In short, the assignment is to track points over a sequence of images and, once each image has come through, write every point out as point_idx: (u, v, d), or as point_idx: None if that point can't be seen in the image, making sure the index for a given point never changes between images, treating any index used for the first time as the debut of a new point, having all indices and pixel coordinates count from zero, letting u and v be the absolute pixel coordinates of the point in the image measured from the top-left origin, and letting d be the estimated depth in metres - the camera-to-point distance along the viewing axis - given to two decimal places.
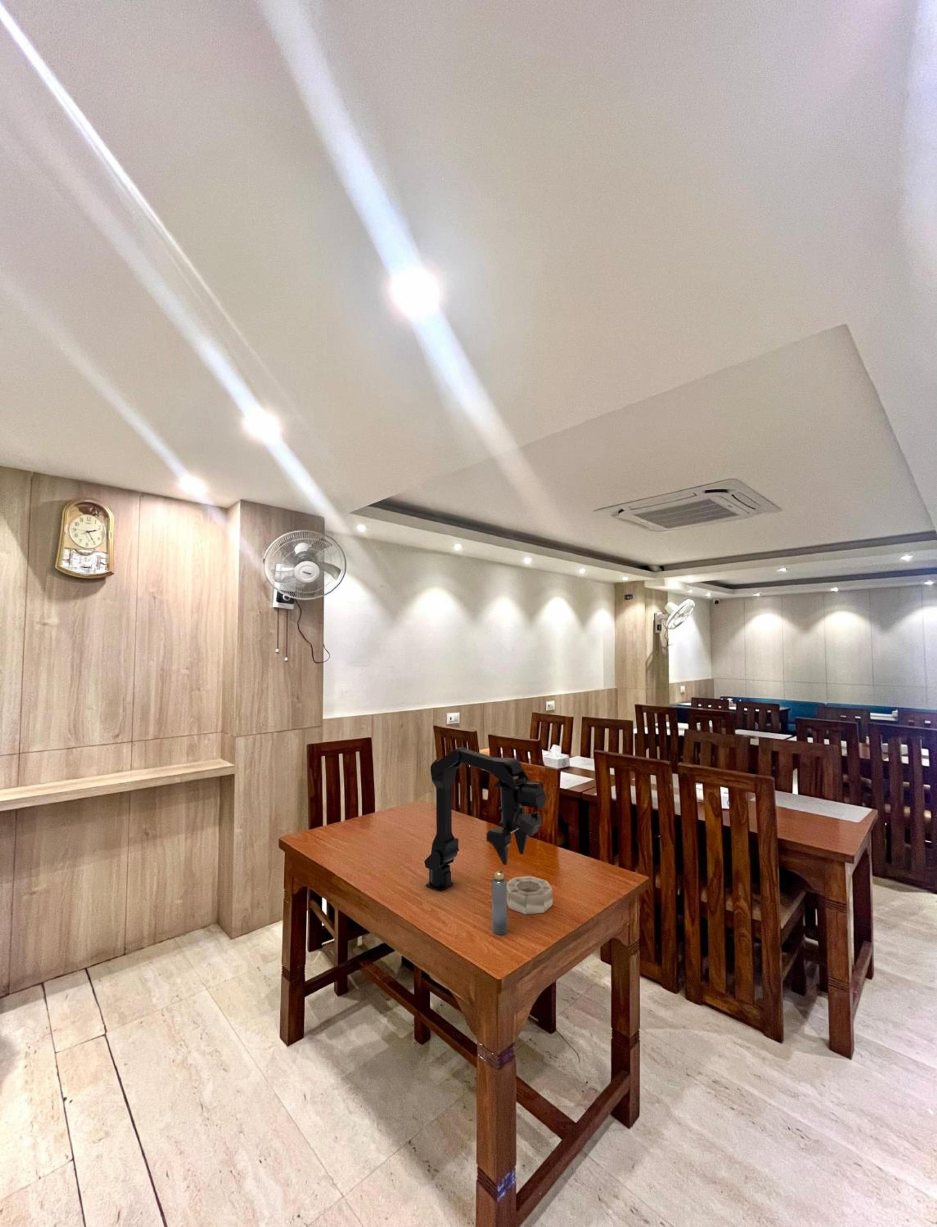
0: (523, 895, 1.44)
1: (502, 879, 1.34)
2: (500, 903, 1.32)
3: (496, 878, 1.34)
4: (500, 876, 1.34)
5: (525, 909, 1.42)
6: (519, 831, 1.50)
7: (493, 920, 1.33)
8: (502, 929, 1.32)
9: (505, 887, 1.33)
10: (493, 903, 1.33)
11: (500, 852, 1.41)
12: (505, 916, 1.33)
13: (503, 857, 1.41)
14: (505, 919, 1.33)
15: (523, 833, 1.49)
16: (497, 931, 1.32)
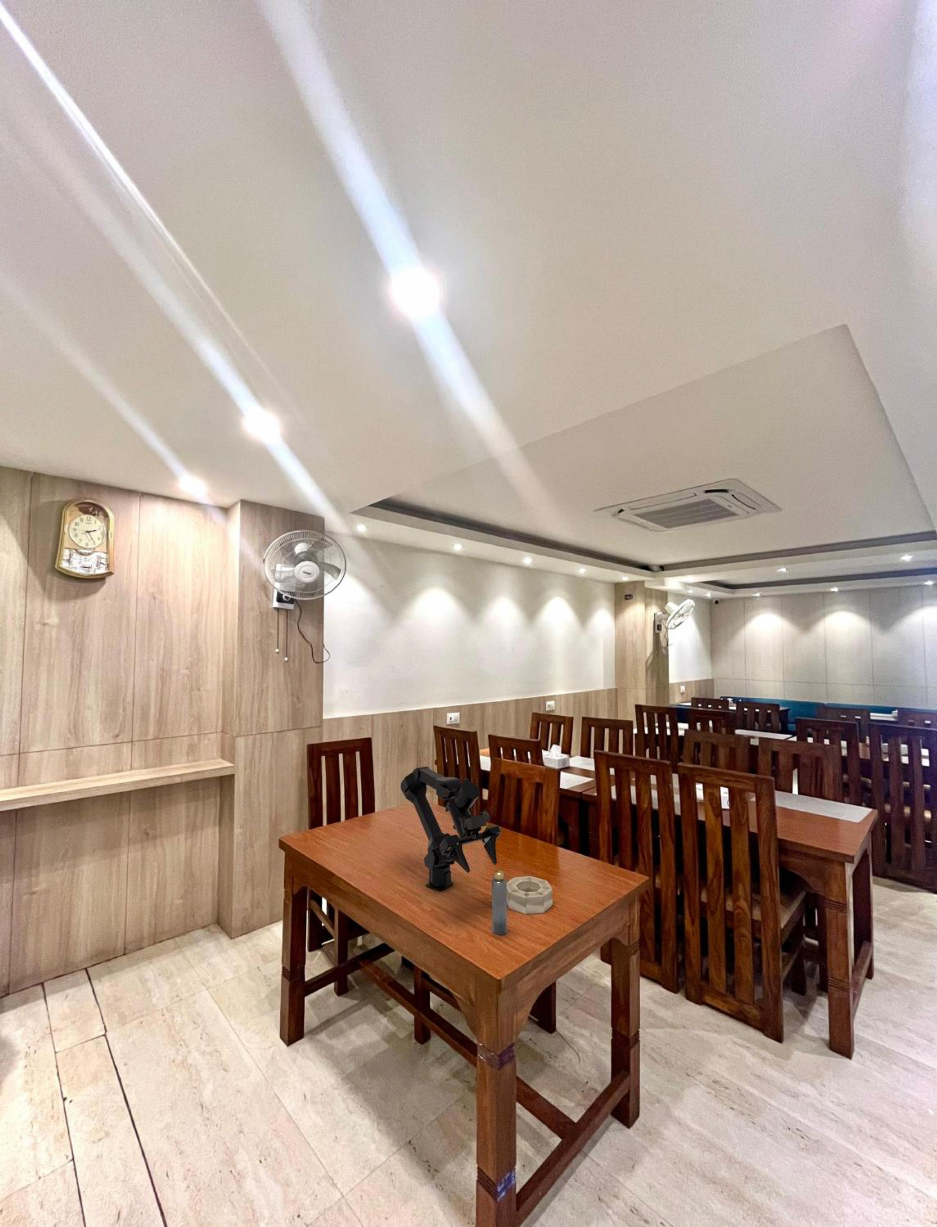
0: (523, 895, 1.44)
1: (502, 879, 1.34)
2: (500, 903, 1.32)
3: (496, 878, 1.34)
4: (500, 876, 1.34)
5: (525, 909, 1.42)
6: (487, 844, 1.49)
7: (493, 920, 1.33)
8: (502, 929, 1.32)
9: (505, 887, 1.33)
10: (493, 903, 1.33)
11: (459, 861, 1.41)
12: (505, 916, 1.33)
13: (463, 864, 1.40)
14: (505, 919, 1.33)
15: (489, 842, 1.48)
16: (497, 931, 1.32)
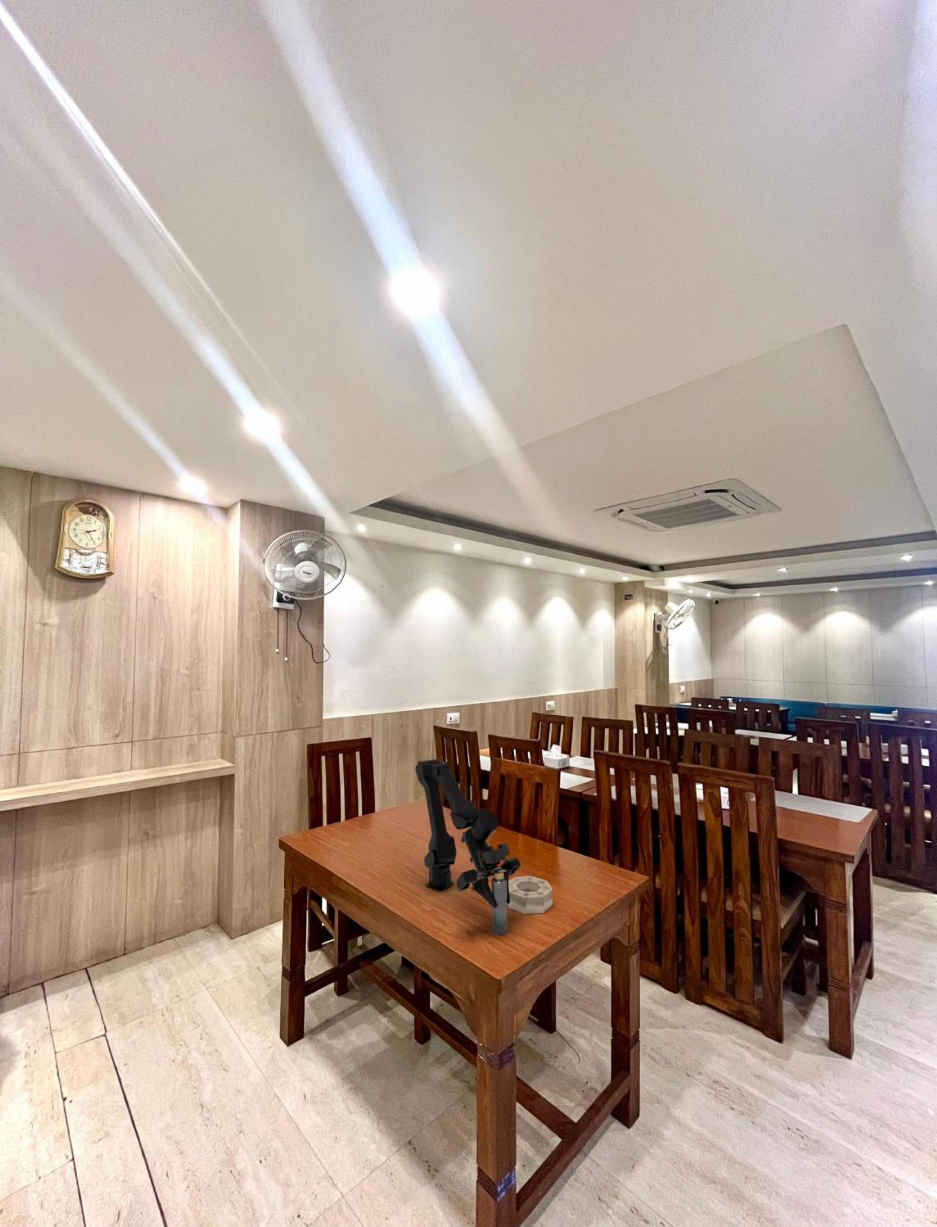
0: (523, 895, 1.44)
1: (502, 879, 1.34)
2: (500, 903, 1.32)
3: (496, 878, 1.34)
4: (500, 876, 1.34)
5: (525, 909, 1.42)
6: None
7: (493, 920, 1.33)
8: (502, 929, 1.32)
9: (505, 887, 1.33)
10: None
11: (485, 895, 1.34)
12: (505, 916, 1.33)
13: (490, 899, 1.33)
14: (505, 919, 1.33)
15: None
16: (497, 931, 1.32)
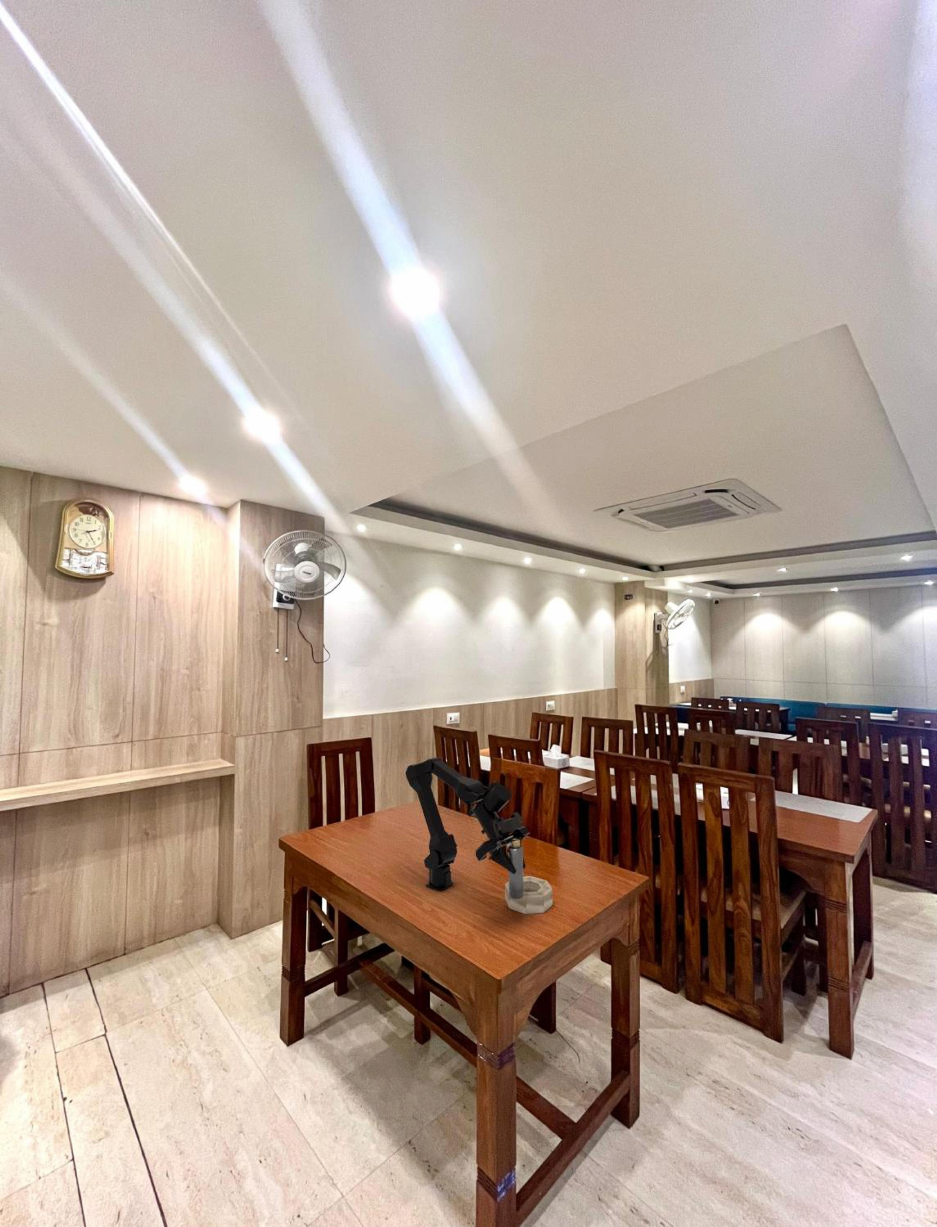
0: (523, 895, 1.44)
1: (519, 846, 1.40)
2: (518, 868, 1.39)
3: (514, 845, 1.40)
4: (517, 843, 1.40)
5: (525, 909, 1.42)
6: None
7: (511, 885, 1.39)
8: (520, 893, 1.38)
9: (522, 853, 1.40)
10: None
11: (504, 863, 1.39)
12: (522, 880, 1.39)
13: (508, 865, 1.38)
14: (522, 883, 1.39)
15: None
16: (516, 895, 1.38)
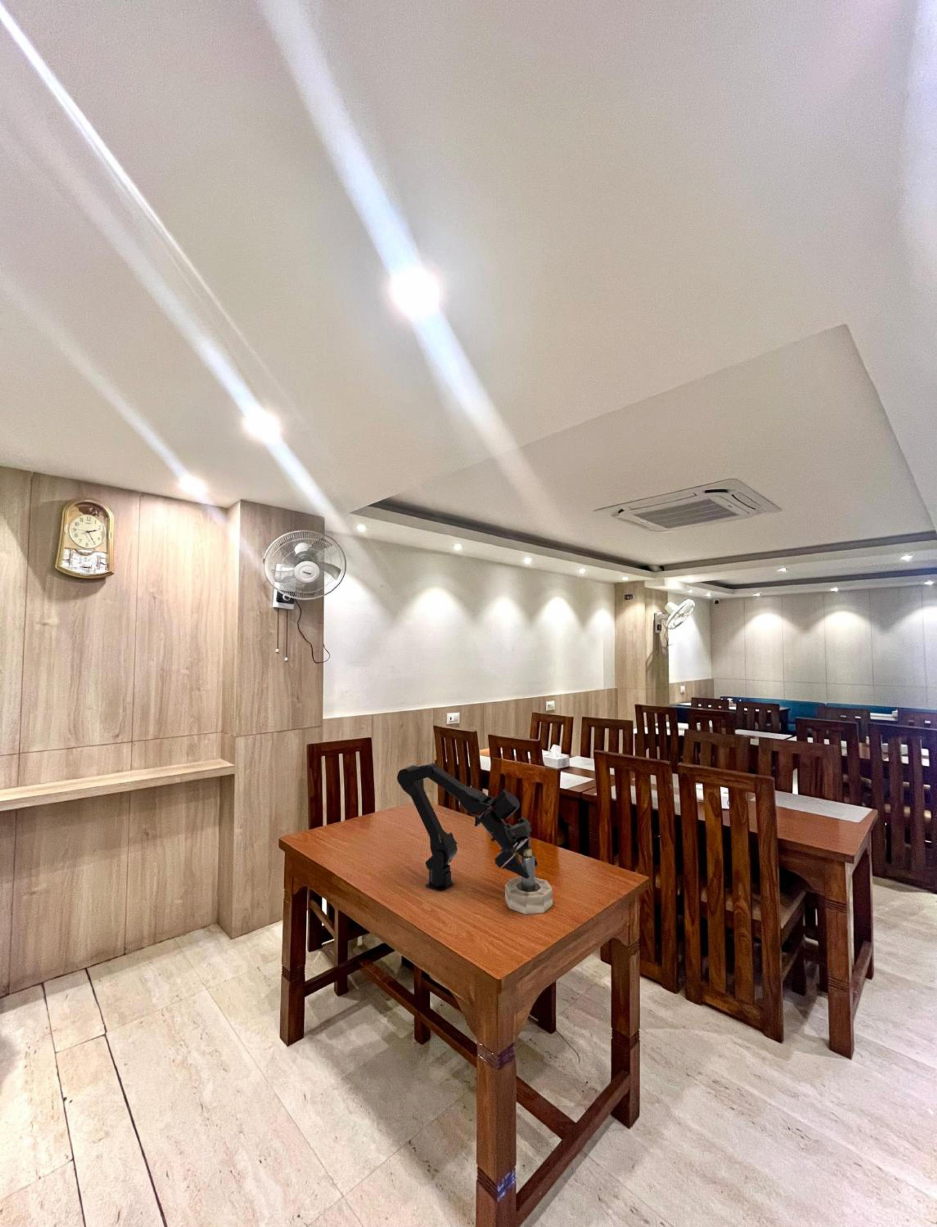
0: (523, 895, 1.44)
1: (531, 855, 1.50)
2: (532, 876, 1.48)
3: (527, 855, 1.49)
4: (531, 852, 1.49)
5: (525, 909, 1.42)
6: (521, 848, 1.56)
7: None
8: None
9: None
10: None
11: (517, 870, 1.45)
12: None
13: (522, 871, 1.45)
14: None
15: (525, 847, 1.55)
16: None
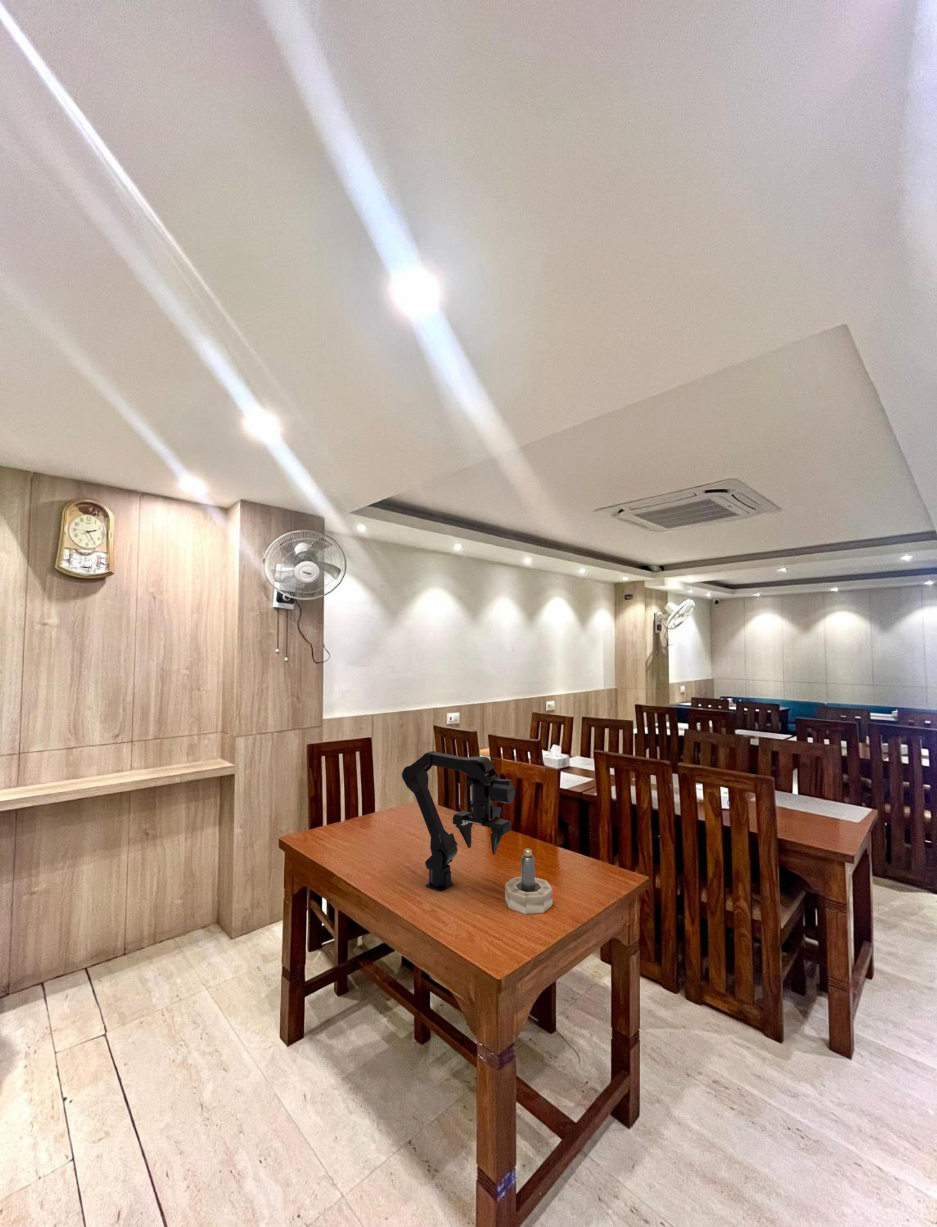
0: (523, 895, 1.44)
1: (531, 855, 1.50)
2: (532, 876, 1.48)
3: (527, 855, 1.49)
4: (530, 852, 1.49)
5: (525, 909, 1.42)
6: (467, 827, 1.58)
7: None
8: None
9: None
10: (526, 878, 1.48)
11: (496, 843, 1.51)
12: None
13: (497, 846, 1.52)
14: None
15: (469, 827, 1.59)
16: None
